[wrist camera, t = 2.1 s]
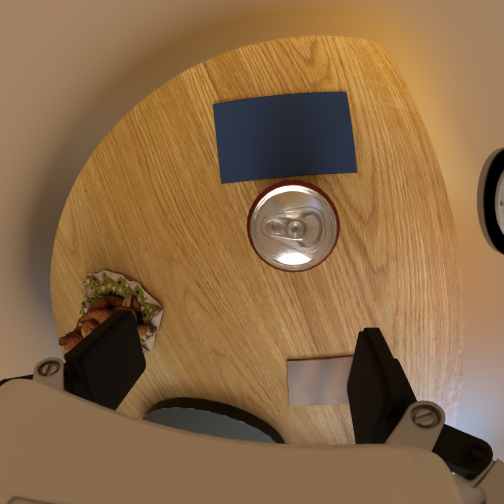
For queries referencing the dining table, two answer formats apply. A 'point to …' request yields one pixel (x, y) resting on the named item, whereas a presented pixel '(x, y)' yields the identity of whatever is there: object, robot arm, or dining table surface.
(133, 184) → the dining table surface
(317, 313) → the dining table surface
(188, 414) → the disc
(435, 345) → the dining table surface
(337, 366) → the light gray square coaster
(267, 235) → the soda can
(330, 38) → the dining table surface
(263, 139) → the place mat
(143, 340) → the bear figurine
